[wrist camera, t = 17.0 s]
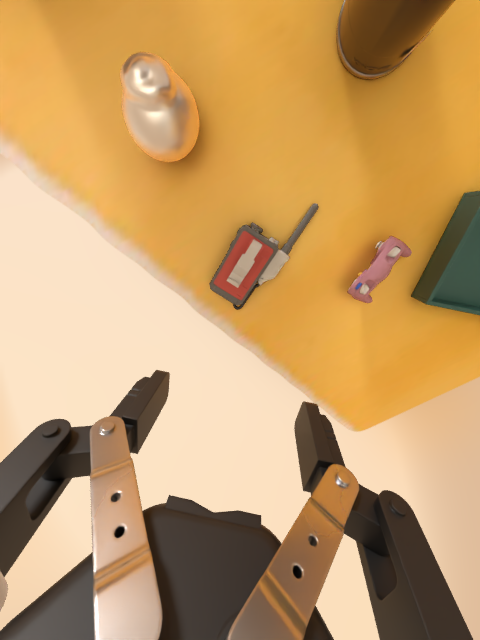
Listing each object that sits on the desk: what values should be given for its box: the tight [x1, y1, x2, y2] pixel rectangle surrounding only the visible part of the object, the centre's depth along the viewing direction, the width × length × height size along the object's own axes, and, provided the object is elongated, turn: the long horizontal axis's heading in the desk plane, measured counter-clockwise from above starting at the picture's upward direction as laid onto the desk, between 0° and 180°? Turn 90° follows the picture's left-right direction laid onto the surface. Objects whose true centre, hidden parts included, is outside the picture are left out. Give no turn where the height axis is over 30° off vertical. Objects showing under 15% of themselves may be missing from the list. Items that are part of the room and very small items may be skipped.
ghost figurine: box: [120, 52, 199, 162], centre depth 27 cm, size 9×10×10 cm
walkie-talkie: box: [209, 203, 318, 310], centre depth 35 cm, size 9×4×20 cm
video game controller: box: [348, 236, 412, 303], centre depth 34 cm, size 10×5×7 cm, turn 152°
